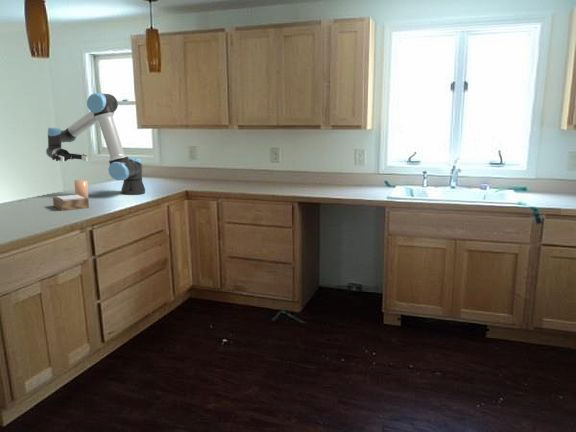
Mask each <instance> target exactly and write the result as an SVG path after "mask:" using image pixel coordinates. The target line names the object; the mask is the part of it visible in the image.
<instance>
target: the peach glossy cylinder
mask: <svg viewBox="0 0 576 432" xmlns="http://www.w3.org/2000/svg"><path fill="white" fill-rule="evenodd" d="M88 182H89V181H88V180H87V179H78V180H77V179H76V180H74V195H80V196H83V197H85V198H87V199H88V201H90V199H89V187H88V186H89V185H88Z"/></svg>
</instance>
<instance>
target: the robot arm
mask: <svg viewBox="0 0 576 432" xmlns="http://www.w3.org/2000/svg"><path fill="white" fill-rule="evenodd" d="M86 107H87V109H88V110H89V112H88V113H86V114H85V115H83V116H82V117H80V118H79V119H78V120H77V121H75V122H74V123H72V124H71V125H70V126H68V127H67V128H66V129H64V130H62V129H61V128H60V127H48V129H47V148H46V149H45V153H46V156H47V157H49V158H51V160H52V161H55V162H63V163H64V162H66V161H68V160H81V161H84V162H88V161H89V160H88V155H87V154H86V155H85V154H84V153H83V154H79V153H70V152H69V151H68V150H66V149H64V148H62V143H71V142H75V141H76V139H77V137H78V136H80V135H81V134H82V133H84V132H86V131H87V130H88V129H90V128H91V127H93V126H94V125H96V124H97V123H98V124H99V126H100V130H101V133H102V135H103V139H104V142H105V145H106V148H107V151H108V154H109V157H110V158H109V160H108V163H109V165H108V166H109V167H108V174H109V176H110V177H111V178H112V179H113V180H115V181H123V183H122V186H121V191H120V193H121V194H122V195H127V196H128V195H130V196H133V195H134V196H135V195H143V194H146V187H145V184H144V183H143V182H144V181H143V164H142V159H141V158H137V157H136V158H135V157H129V156H128V155H126V154H125V152H124V148H123V146H122V143H121V139H120V136H119V133H118V130H117V127H116V124H115V121H114V118H113V116H114V114H115V112H116V111H117V109H118V107H119V103H118V100H117V98H116V97H115V96H114V95H113V94H109V93H103V92H96V93H92V94H91V93H90V95H89V96H88V98H87V100H86Z"/></svg>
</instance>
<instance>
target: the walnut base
mask: <svg viewBox="0 0 576 432" xmlns="http://www.w3.org/2000/svg"><path fill="white" fill-rule="evenodd" d="M88 199H89V198H88ZM88 199H87V198H85V197H83V196H80V195H75V194H69V195H59V196H58V195H57V196H55V197H52V201H53V202H52V203H53V208H56V209H58V210H60V211H62V212H63V211H70V210H71V211H74V210H80V209H81V210H83V209H89V208H90V203H89V201H90V200H89V201H88Z"/></svg>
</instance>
